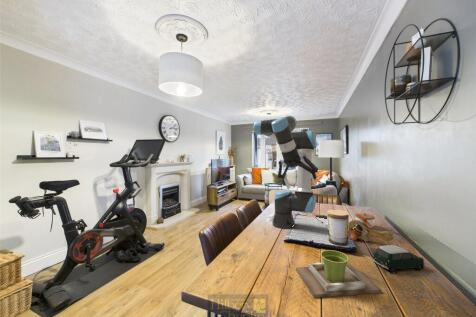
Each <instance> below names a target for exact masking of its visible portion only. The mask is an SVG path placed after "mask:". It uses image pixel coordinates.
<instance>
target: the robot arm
mask: <svg viewBox="0 0 476 317" xmlns="http://www.w3.org/2000/svg"><path fill="white" fill-rule="evenodd" d="M296 126H297V119H296V118H295V117H294V116H292V115H286V116H284V117H279V118H273V119H264V120H257V121H255V122H254V123H253V132H254V134H255V135H257V136H258V135H259V136H261V135H263V136H265V137H267V138H269V139H271V140H273V141H274V142H276V144H278V147H279V150H280V152H281V156H282V159H279V161H278V165H279V166H278V173H277V179H281V181H282V182H283V184H284V185H286V189H287V190H281V191H280V190H279V191H276V192H275V193H274V215H273V218H272V221H271V222H272V226H274V227H276V228H279V229H292V228H293V227H292V226H293V225H294V224H295V225H296V221H295V218H294V215H293V212H298V213H305V214H310V213H311V214H312V213H313V212H314V210H315V207H316V202H317V195H315V194H314V191H313V190H312V184H313V187H317V174H316V173H318V171H319V168H318V167H317V166H316V165H315V164H314V163H313V162H312V156H313V155H312V153H314V152H315V149H317V147H318V144H317V139H316V134H315V131H312V130H309V131H308V130H306V131H294V130H295V128H296ZM284 164H285V165H286V166H285V169H284V171H283V165H284ZM296 167H297V183H296V184H297V188H296V189H295V190H294V193H293V191H292V190H290V188H291V185H290V183H289V180H288V176H286V175H287V172H288V170H289V168H296ZM282 171H283V173H282ZM291 227H292V228H291Z"/></svg>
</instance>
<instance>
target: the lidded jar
mask: <svg viewBox="0 0 476 317" xmlns="http://www.w3.org/2000/svg"><path fill="white" fill-rule="evenodd" d="M356 214H359V215H361V216H362V217H363V218H366V219H367V221H368V222H369V223H370V224H371V225H372V226H373V227H374V225H375V216H374V215H373V214H369V213H366V212H363V213H361V212H360V213H358V212H357V213H355V214H354V216H355V217H354V218H355V219H354V220H359V221H360V218H359V217H358V216H357V215H356ZM366 225H367V224H366ZM367 226H368V225H367ZM368 227H369V226H368ZM369 228H371V229H372V227H369Z"/></svg>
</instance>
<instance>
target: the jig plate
mask: <svg viewBox="0 0 476 317" xmlns="http://www.w3.org/2000/svg"><path fill="white" fill-rule="evenodd" d="M307 264H308V266H304V267H303V266H302V267H295V271H296V273H297V274H298V276H299V277H300V279H301V281H302V282H303V284H304V285H305V286H307V287H306V288H307V289H309V290H308V291H309V293H310V294H311V296H312V297H313V299H314V298H315V299H316V298H324V297H325V298H327V297H341V296H351V295H352V296H353V295H354V296H355V295H365V294H380V293H383V290H382V289H381V288H380V287H379V286H378V285H377V284H375V283H374V282H373V281H371V279H369V278H368V277H367V276H366V275H365V274H363V273H362V272H361V271H359V270H358V269H357V268H356V267H355V266H354V265H352V264H349V263H348V264H347V265H346V269H345V277H344V282H343V283H332V282H330V281H329V280H328V279H327V278H326V275H325V268H324V262H313V263H307Z"/></svg>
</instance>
